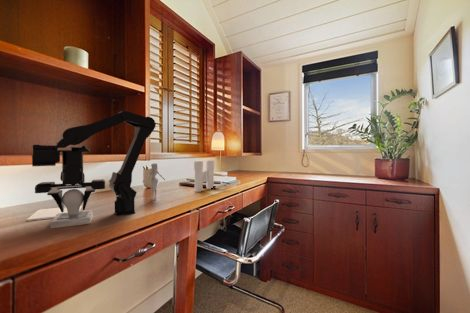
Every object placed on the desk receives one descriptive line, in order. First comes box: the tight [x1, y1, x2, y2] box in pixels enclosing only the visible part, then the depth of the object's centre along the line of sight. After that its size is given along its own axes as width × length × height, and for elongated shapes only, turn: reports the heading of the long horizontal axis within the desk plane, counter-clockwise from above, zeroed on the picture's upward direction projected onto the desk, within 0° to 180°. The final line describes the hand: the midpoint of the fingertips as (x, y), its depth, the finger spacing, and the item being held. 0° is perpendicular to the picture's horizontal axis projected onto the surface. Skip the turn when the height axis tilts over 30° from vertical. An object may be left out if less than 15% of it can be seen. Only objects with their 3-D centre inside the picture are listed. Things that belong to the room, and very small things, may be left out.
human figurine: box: [142, 163, 166, 201], centre depth 108 cm, size 12×4×18 cm, turn 141°
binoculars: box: [193, 159, 215, 193], centre depth 138 cm, size 17×5×18 cm, turn 151°
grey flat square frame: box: [49, 209, 94, 229], centre depth 76 cm, size 10×10×2 cm
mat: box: [26, 205, 83, 222], centre depth 85 cm, size 14×14×1 cm
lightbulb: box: [62, 188, 84, 219], centre depth 76 cm, size 6×6×11 cm
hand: (73, 210), depth 76 cm, fingers closed on lightbulb, 5 cm apart
